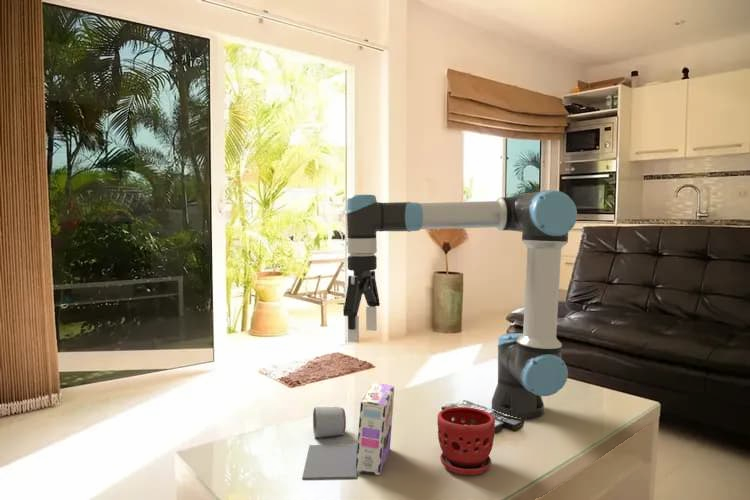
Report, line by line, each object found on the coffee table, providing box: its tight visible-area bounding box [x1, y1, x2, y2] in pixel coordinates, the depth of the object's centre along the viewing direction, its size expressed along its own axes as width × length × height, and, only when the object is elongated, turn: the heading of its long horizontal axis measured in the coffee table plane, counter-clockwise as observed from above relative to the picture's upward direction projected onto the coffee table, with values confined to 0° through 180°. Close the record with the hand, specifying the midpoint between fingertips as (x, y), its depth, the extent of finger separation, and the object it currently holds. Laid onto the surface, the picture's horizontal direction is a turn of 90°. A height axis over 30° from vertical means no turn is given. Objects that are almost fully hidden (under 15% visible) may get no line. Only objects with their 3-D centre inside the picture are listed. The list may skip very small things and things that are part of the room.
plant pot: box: [437, 406, 496, 476], centre depth 117 cm, size 13×13×12 cm
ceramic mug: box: [312, 406, 347, 438], centre depth 135 cm, size 11×8×8 cm
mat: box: [301, 443, 358, 480], centre depth 119 cm, size 12×16×1 cm
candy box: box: [356, 382, 395, 476], centre depth 119 cm, size 14×6×16 cm, turn 168°
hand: (362, 335), depth 131 cm, fingers open, 13 cm apart
